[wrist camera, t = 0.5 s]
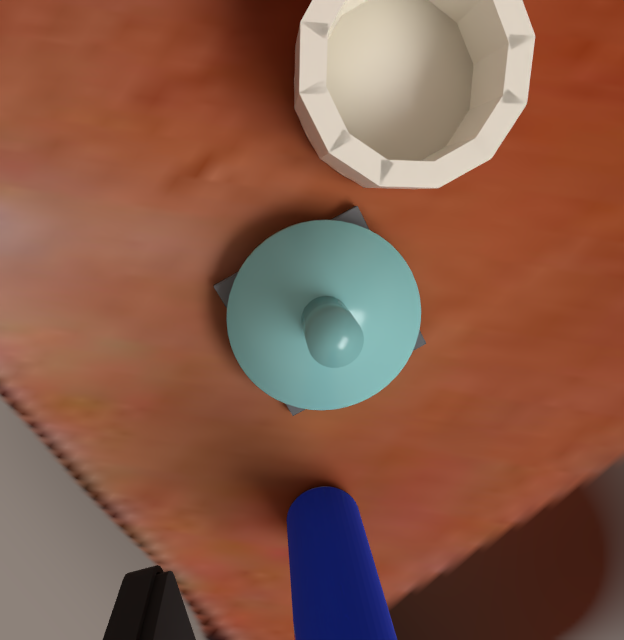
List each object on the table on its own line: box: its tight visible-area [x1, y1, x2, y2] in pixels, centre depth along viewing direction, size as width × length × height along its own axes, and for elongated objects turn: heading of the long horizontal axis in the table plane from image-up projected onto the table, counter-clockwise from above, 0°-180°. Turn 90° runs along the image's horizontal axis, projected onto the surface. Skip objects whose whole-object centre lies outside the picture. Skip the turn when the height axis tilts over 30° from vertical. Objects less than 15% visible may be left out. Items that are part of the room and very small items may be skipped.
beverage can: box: [287, 486, 397, 640], centre depth 28 cm, size 5×5×15 cm
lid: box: [227, 219, 421, 410], centre depth 28 cm, size 12×12×6 cm
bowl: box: [294, 0, 535, 189], centre depth 26 cm, size 12×12×5 cm
